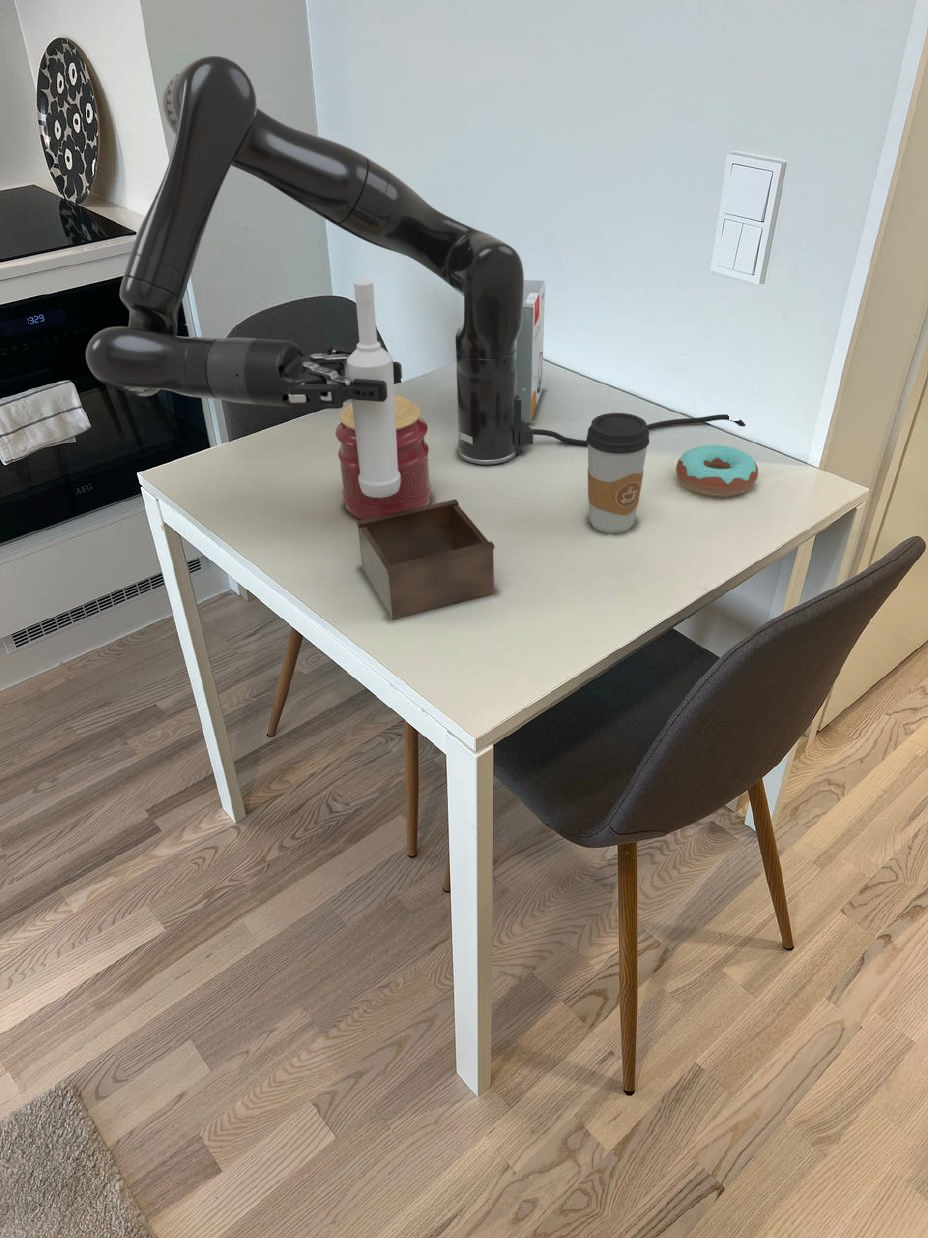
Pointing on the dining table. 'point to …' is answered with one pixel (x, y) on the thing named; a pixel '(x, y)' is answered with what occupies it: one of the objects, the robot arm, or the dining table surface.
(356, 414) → the bottle
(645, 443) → the coffee cup
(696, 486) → the donut
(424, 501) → the kitchen canister
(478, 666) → the dining table surface
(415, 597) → the crate
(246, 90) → the robot arm
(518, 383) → the hard drive box
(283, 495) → the dining table surface
